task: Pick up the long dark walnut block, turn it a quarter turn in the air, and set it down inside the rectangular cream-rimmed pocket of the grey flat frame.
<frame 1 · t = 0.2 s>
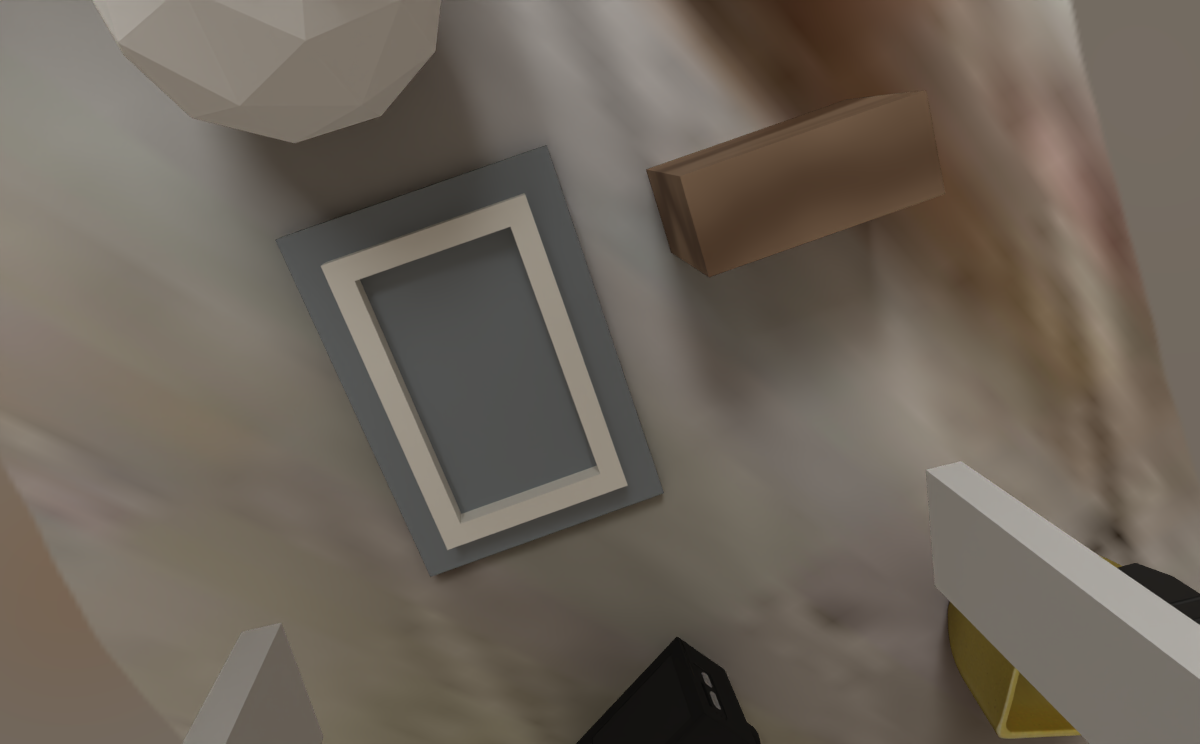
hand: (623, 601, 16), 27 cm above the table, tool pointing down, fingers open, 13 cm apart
walnut block: (757, 176, 41), on the table
grey flat frame: (484, 371, 42), on the table
flower pot: (988, 577, 50), on the table
digital camera: (653, 712, 50), on the table
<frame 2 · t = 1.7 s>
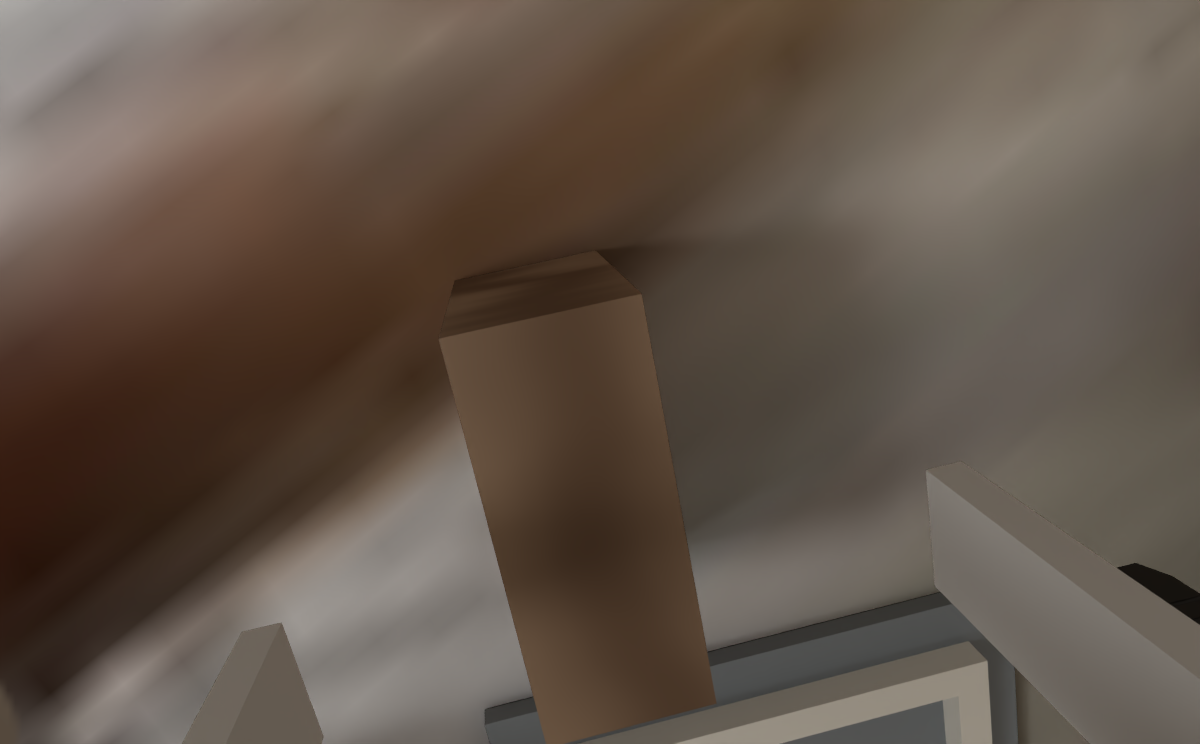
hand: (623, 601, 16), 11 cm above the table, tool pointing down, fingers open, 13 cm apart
walnut block: (561, 425, 26), on the table
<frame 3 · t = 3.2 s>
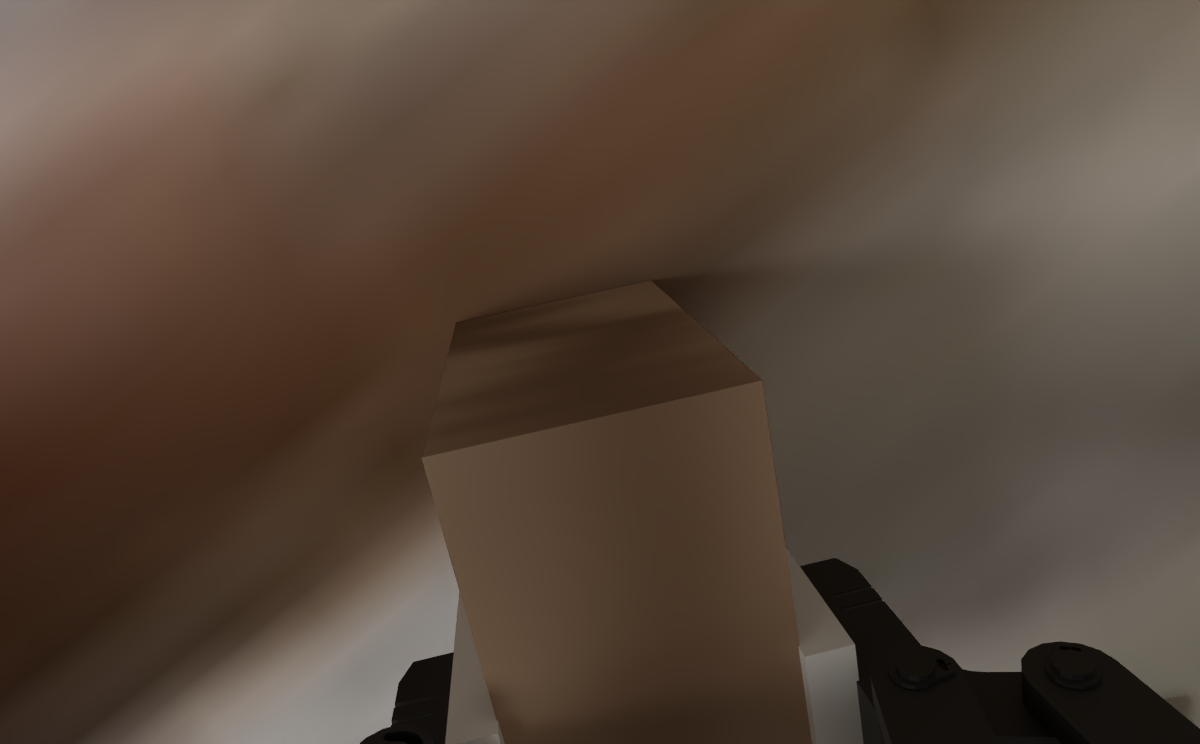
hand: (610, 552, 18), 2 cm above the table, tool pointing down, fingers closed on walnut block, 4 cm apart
walnut block: (600, 516, 19), on the table, touching gripper
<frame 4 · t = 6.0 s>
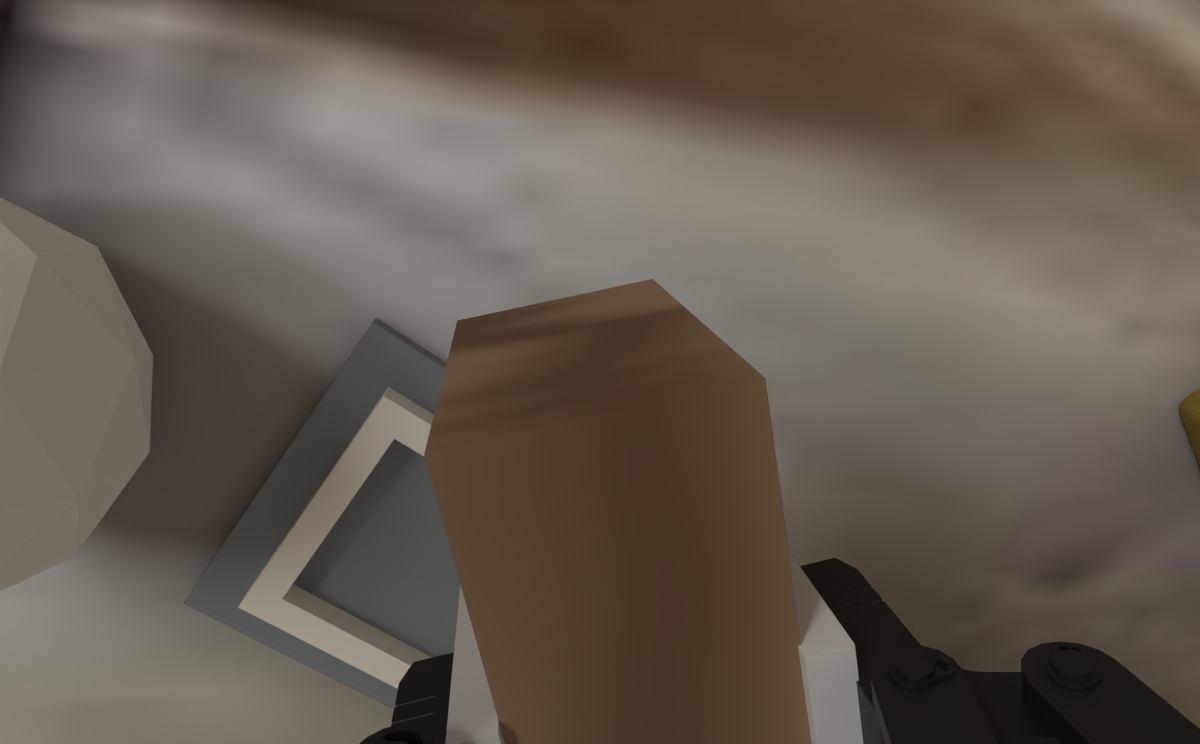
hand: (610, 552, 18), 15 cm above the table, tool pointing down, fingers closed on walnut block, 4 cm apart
walnut block: (601, 515, 19), point 13 cm above the table, touching gripper
grey flat frame: (491, 580, 34), on the table
geodesic sphere: (23, 339, 29), on the table
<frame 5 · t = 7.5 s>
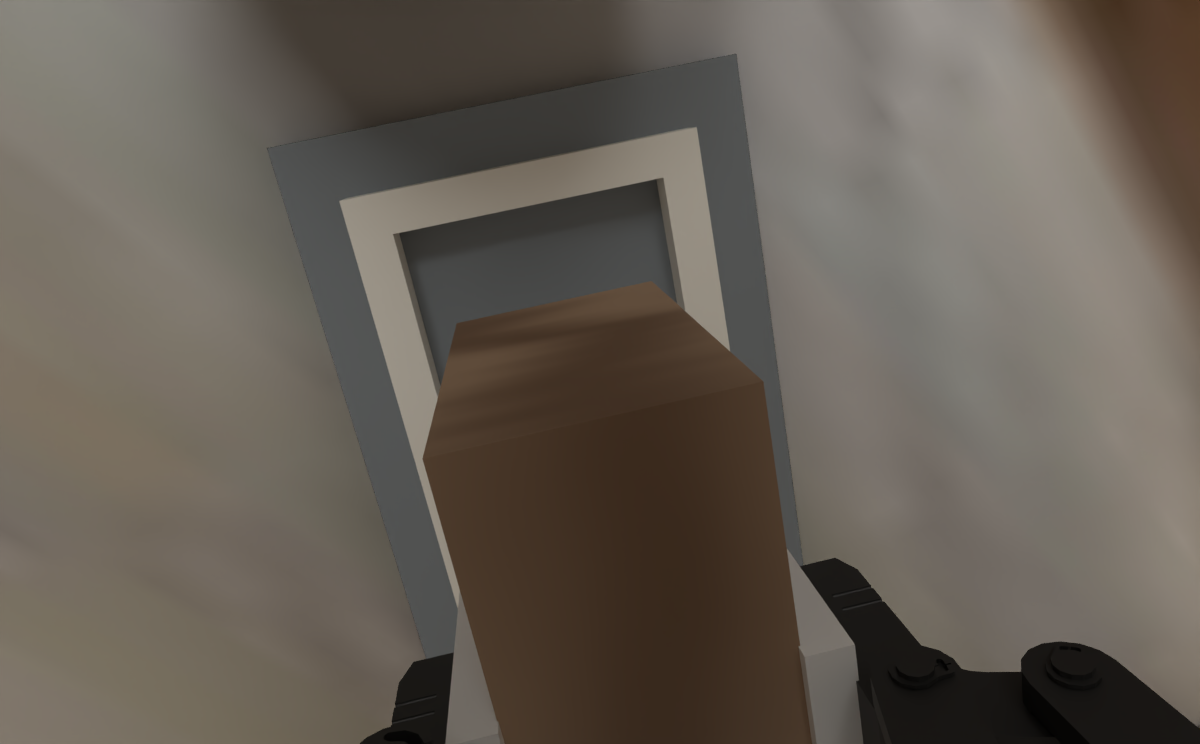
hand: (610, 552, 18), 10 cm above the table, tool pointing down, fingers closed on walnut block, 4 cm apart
walnut block: (601, 516, 19), point 8 cm above the table, touching gripper
grey flat frame: (572, 405, 27), on the table
when the fingers open (5 cm above the table, at t = 8.8 s): walnut block drops 2 cm, resting on grey flat frame.
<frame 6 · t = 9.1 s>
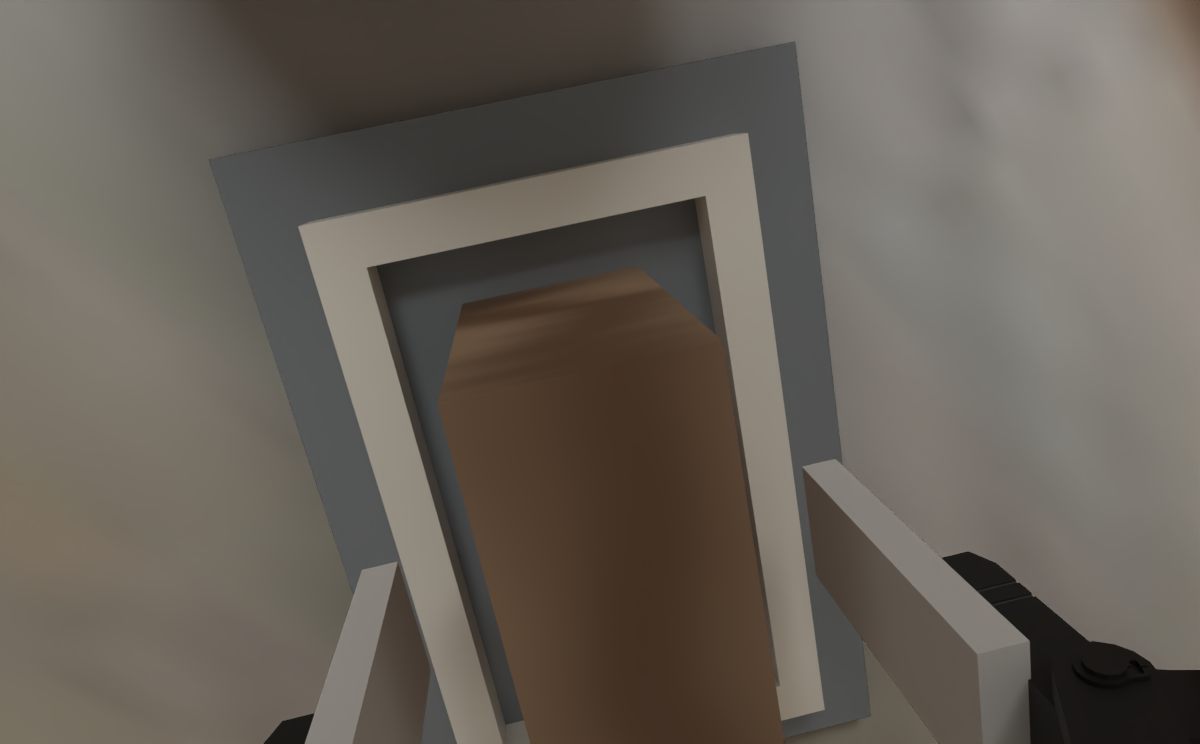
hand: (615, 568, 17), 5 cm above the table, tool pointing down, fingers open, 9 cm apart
walnut block: (593, 480, 21), point 1 cm above the table, touching grey flat frame
grey flat frame: (588, 469, 22), on the table
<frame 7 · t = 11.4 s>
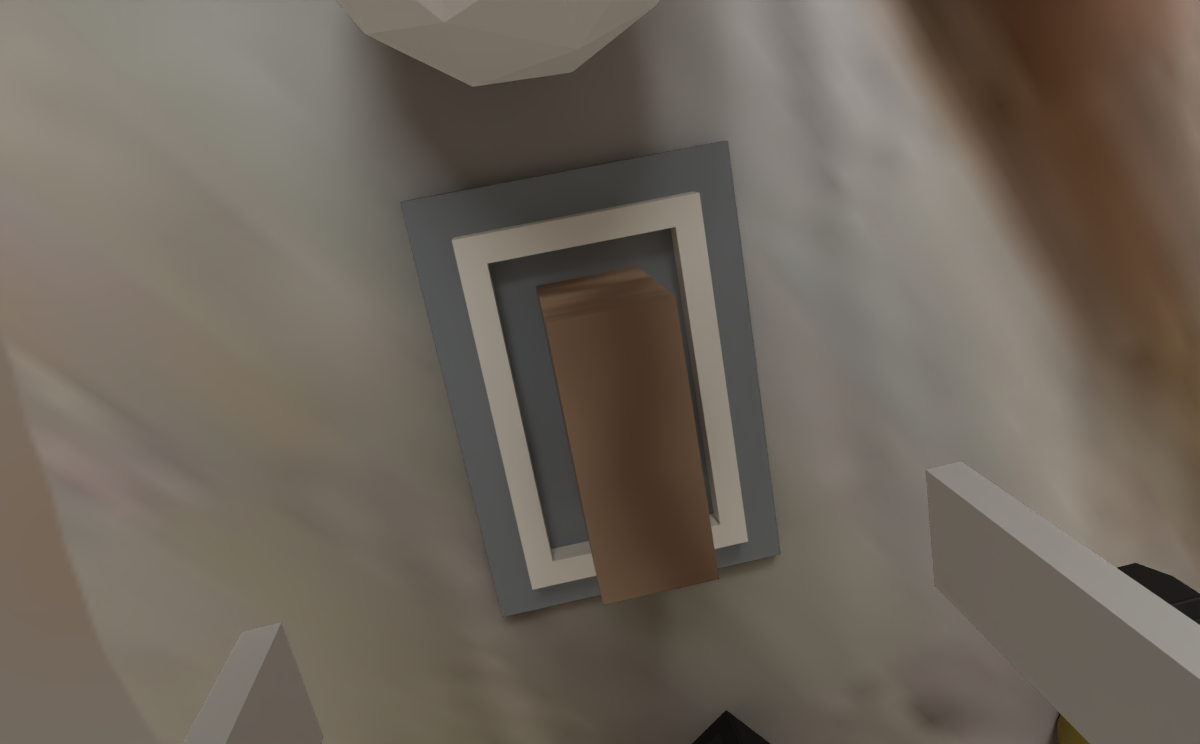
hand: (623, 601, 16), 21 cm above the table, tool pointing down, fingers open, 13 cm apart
walnut block: (608, 394, 36), point 1 cm above the table, touching grey flat frame
grey flat frame: (605, 389, 37), on the table
flower pot: (1103, 692, 45), on the table
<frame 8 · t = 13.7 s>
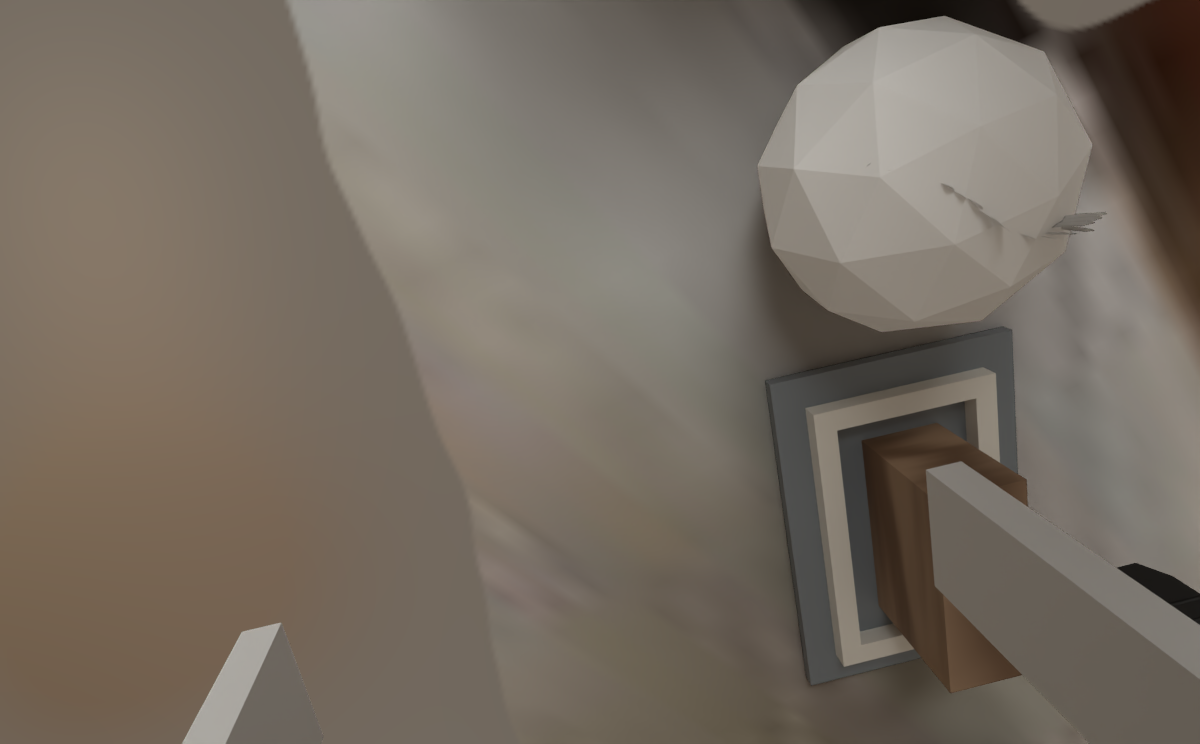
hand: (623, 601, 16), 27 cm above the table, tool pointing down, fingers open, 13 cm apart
walnut block: (906, 517, 46), point 1 cm above the table, touching grey flat frame
grey flat frame: (899, 511, 47), on the table
geodesic sphere: (848, 176, 41), on the table
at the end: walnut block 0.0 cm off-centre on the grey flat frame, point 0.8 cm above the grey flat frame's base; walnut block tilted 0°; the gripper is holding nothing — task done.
